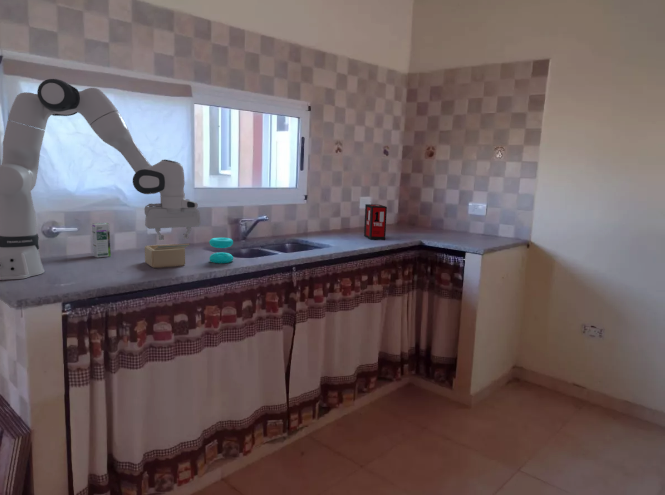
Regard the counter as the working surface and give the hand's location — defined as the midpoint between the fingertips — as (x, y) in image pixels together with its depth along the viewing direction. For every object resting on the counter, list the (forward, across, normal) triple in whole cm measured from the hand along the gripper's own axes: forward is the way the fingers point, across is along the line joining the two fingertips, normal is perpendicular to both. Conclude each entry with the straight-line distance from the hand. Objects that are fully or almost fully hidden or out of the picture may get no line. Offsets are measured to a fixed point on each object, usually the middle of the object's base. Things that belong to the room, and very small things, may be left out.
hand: (173, 239), depth 182 cm
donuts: (+13, +22, +8) cm, 27 cm away
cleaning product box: (+13, +132, +40) cm, 139 cm away
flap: (+5, 0, +6) cm, 8 cm away
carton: (+12, 0, +13) cm, 18 cm away
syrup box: (+12, -20, +40) cm, 47 cm away
